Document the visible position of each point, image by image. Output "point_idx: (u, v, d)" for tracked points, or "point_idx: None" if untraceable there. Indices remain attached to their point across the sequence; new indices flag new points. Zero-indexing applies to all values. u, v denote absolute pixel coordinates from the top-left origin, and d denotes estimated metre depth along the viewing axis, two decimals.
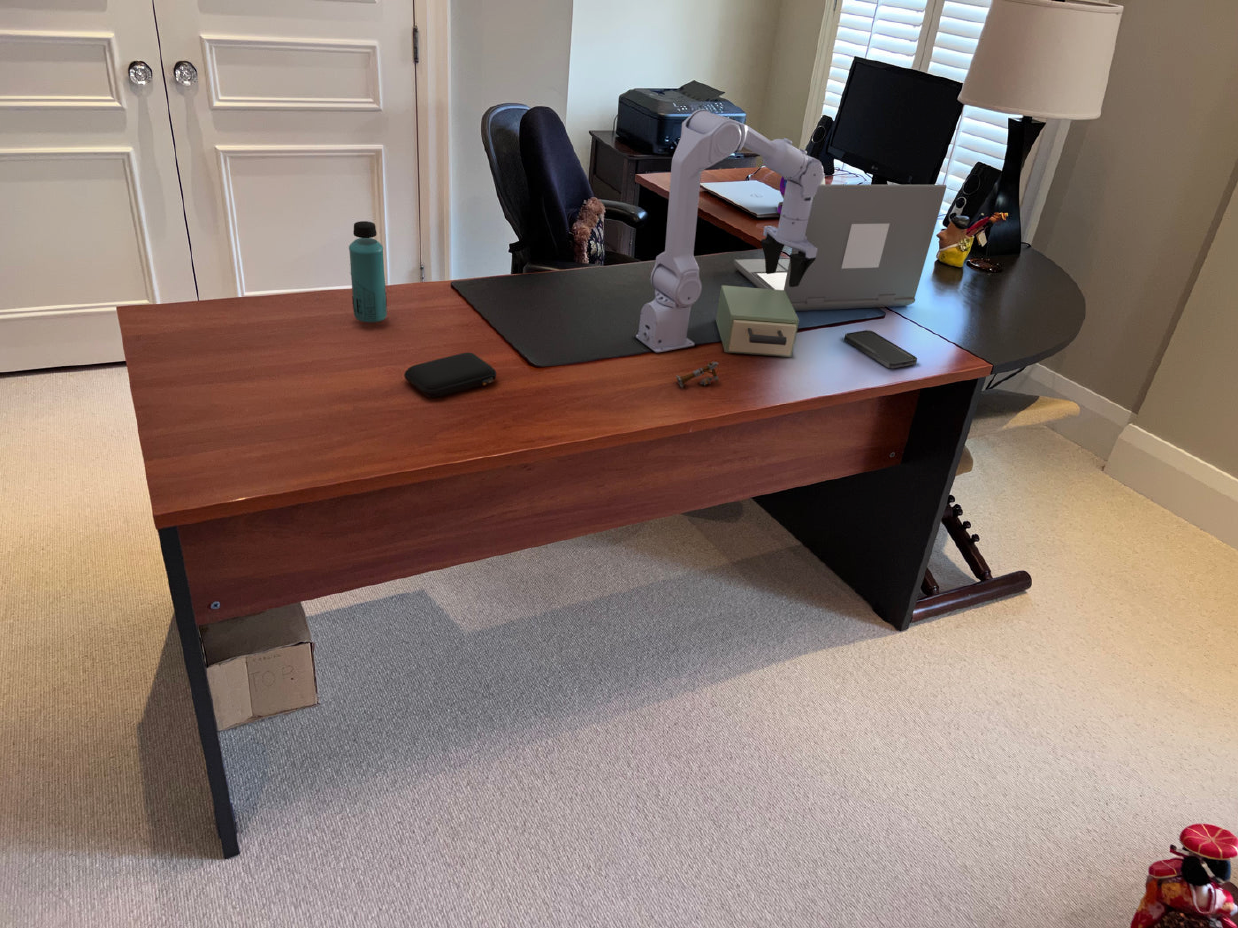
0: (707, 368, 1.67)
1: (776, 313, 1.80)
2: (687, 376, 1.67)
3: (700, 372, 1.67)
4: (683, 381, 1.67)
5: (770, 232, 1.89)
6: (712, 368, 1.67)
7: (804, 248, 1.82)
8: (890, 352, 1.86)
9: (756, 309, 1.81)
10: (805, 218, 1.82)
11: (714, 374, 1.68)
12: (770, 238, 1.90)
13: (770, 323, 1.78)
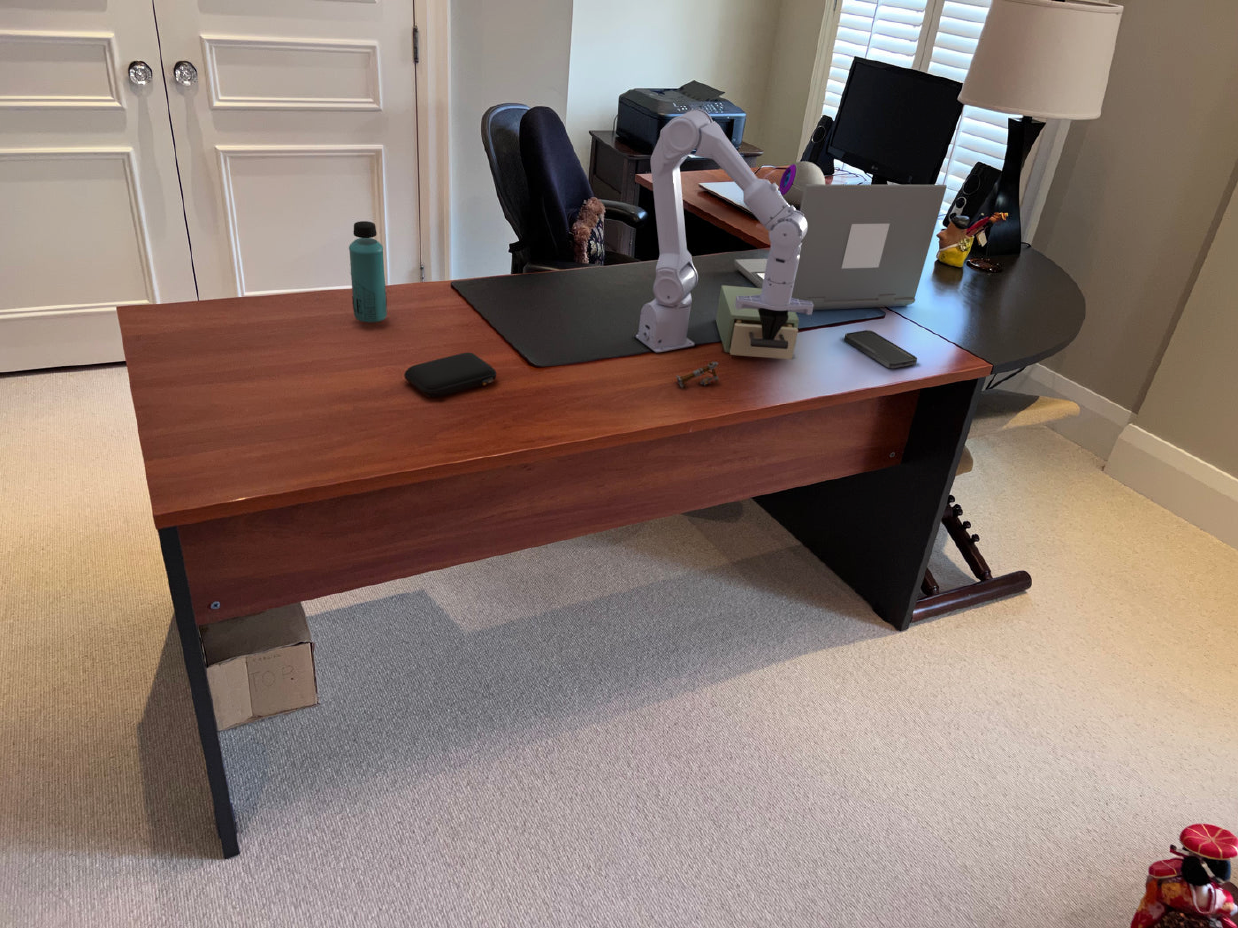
0: (707, 368, 1.67)
1: None
2: (687, 376, 1.67)
3: (700, 372, 1.67)
4: (683, 381, 1.67)
5: (753, 303, 1.69)
6: (712, 368, 1.67)
7: (805, 306, 1.70)
8: (890, 352, 1.86)
9: (756, 309, 1.81)
10: (778, 281, 1.66)
11: (714, 374, 1.68)
12: (767, 310, 1.71)
13: None
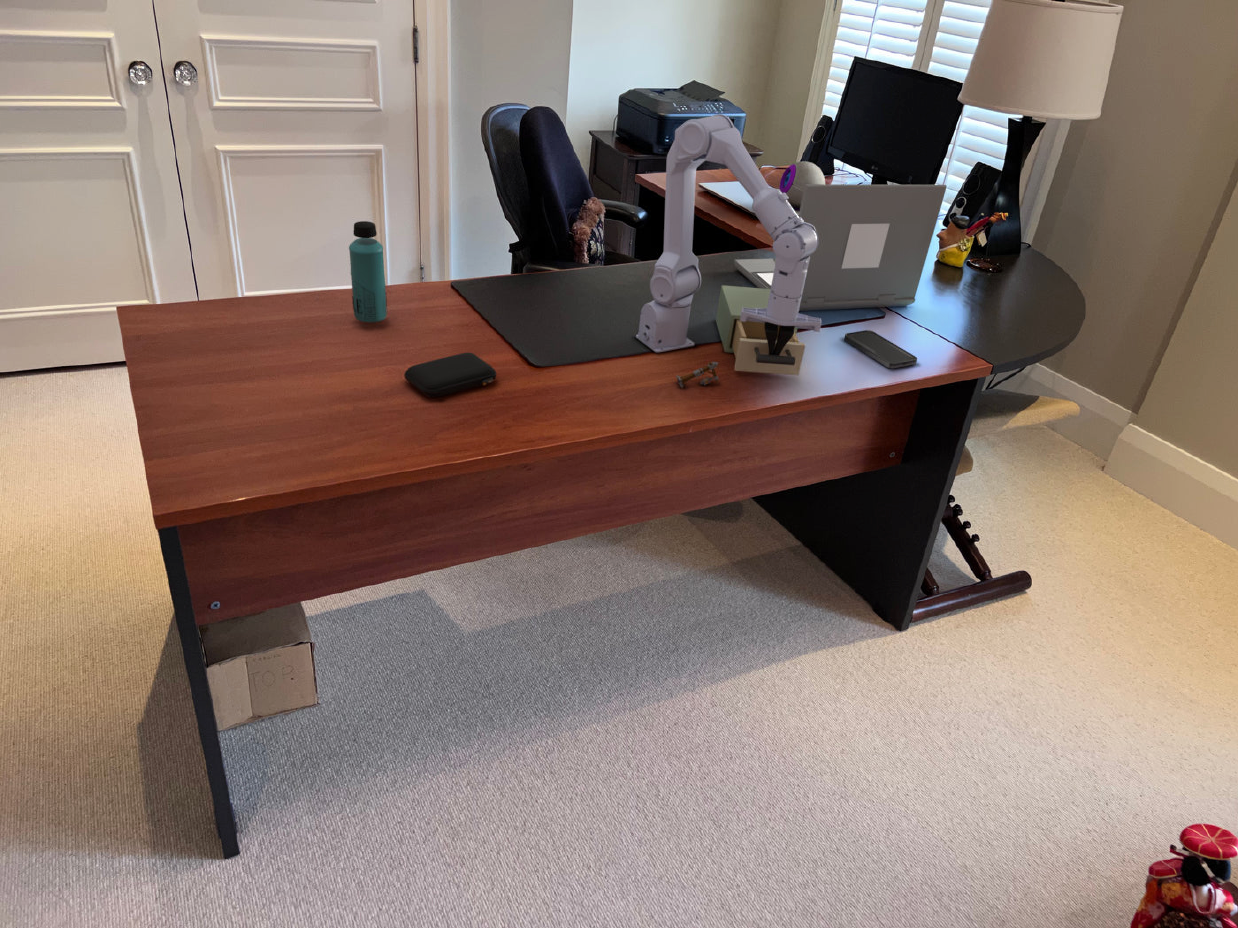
0: (707, 368, 1.67)
1: None
2: (687, 376, 1.67)
3: (700, 372, 1.67)
4: (683, 381, 1.67)
5: (757, 316, 1.64)
6: (712, 368, 1.67)
7: (813, 323, 1.64)
8: (890, 352, 1.86)
9: None
10: (780, 294, 1.60)
11: (714, 374, 1.68)
12: (772, 325, 1.65)
13: None
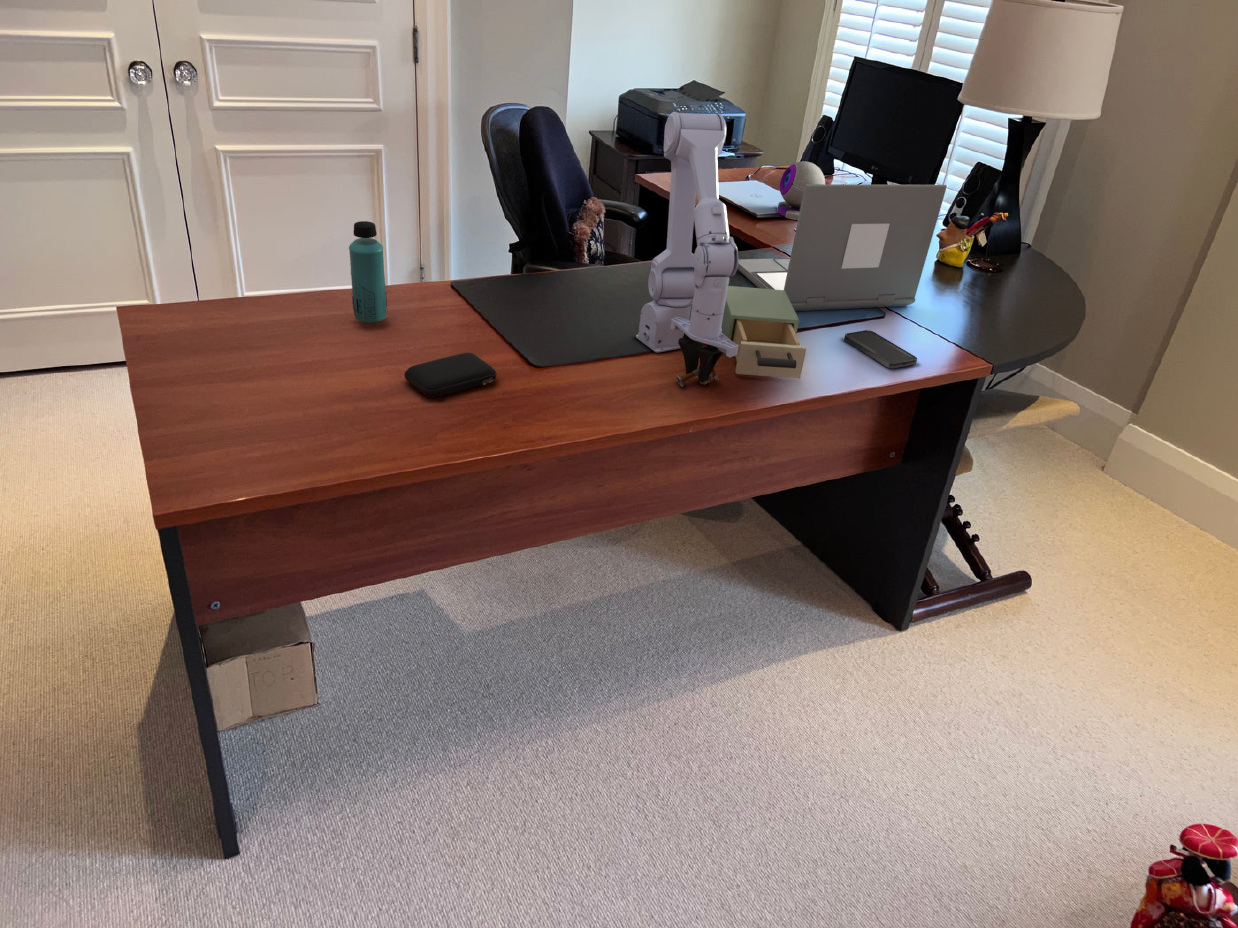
0: None
1: (776, 313, 1.80)
2: (687, 375, 1.67)
3: None
4: (683, 380, 1.67)
5: (680, 326, 1.65)
6: None
7: (724, 346, 1.59)
8: (890, 352, 1.86)
9: (756, 309, 1.81)
10: (694, 308, 1.59)
11: (714, 373, 1.68)
12: (689, 336, 1.65)
13: (779, 345, 1.69)
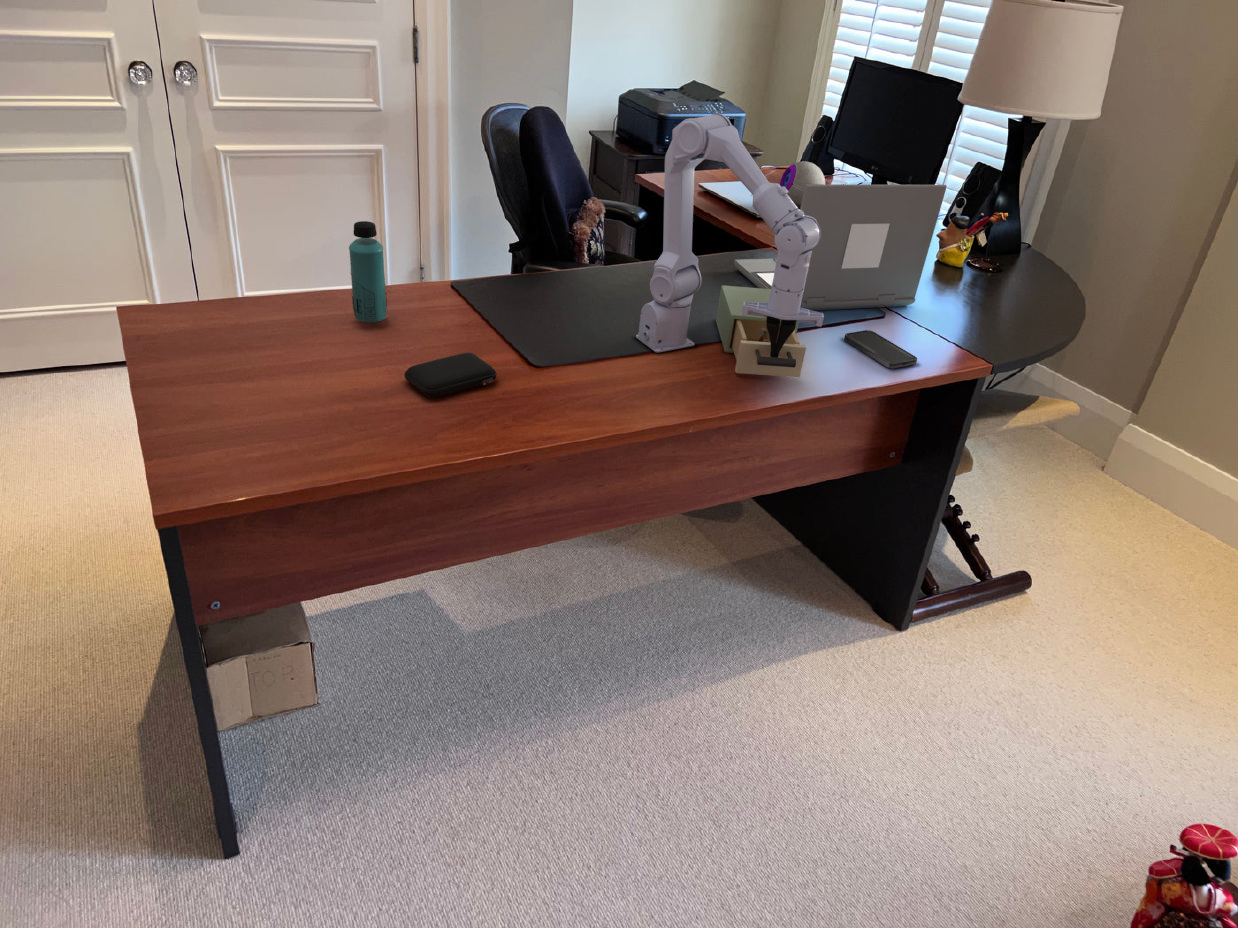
0: (766, 336, 1.76)
1: None
2: None
3: None
4: None
5: (758, 310, 1.63)
6: None
7: (815, 317, 1.62)
8: (890, 352, 1.86)
9: None
10: (782, 288, 1.59)
11: None
12: (773, 319, 1.64)
13: None
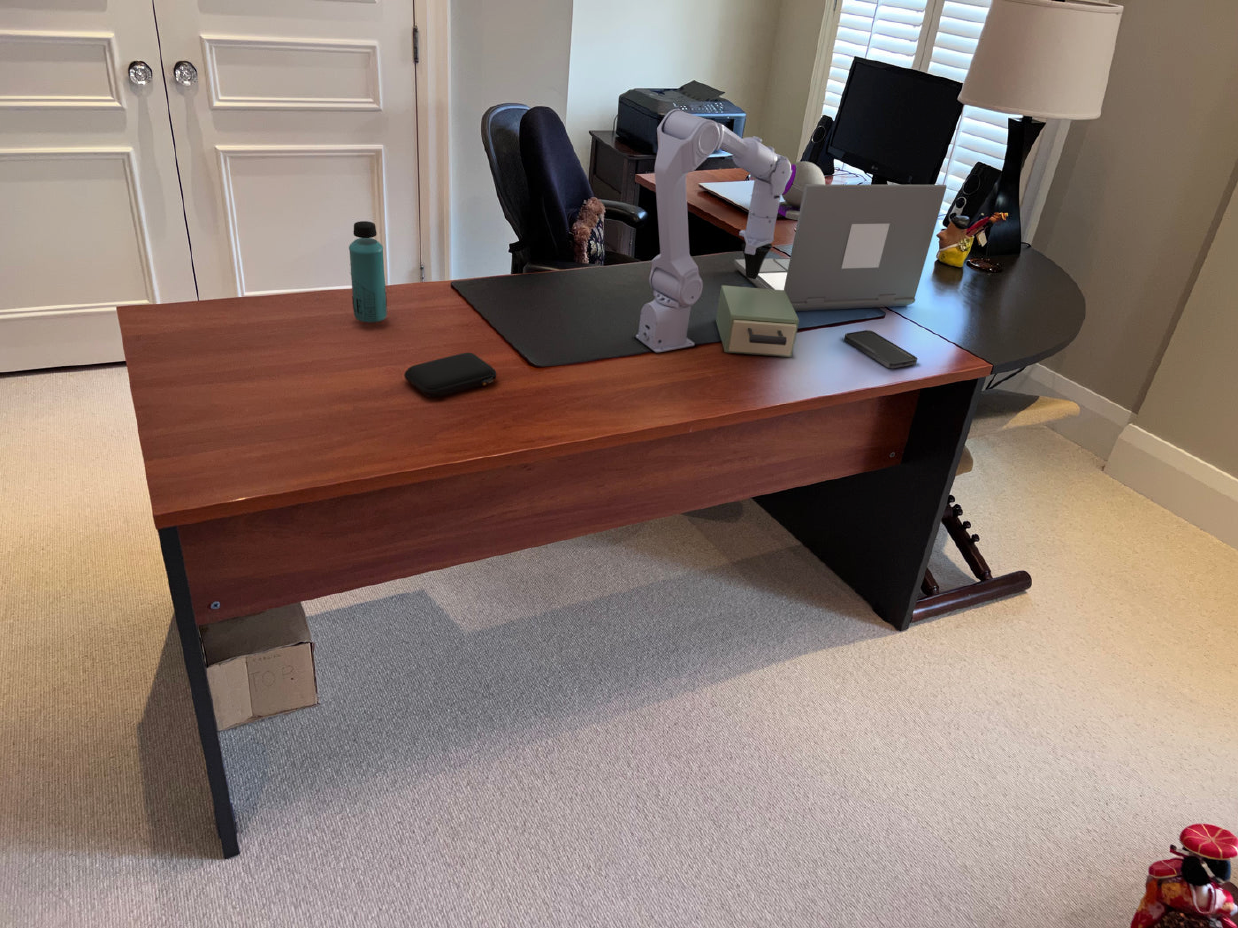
0: None
1: (776, 313, 1.80)
2: None
3: None
4: None
5: (761, 244, 1.82)
6: None
7: None
8: (890, 352, 1.86)
9: (756, 309, 1.81)
10: (774, 215, 1.82)
11: None
12: (760, 246, 1.86)
13: (770, 323, 1.78)
